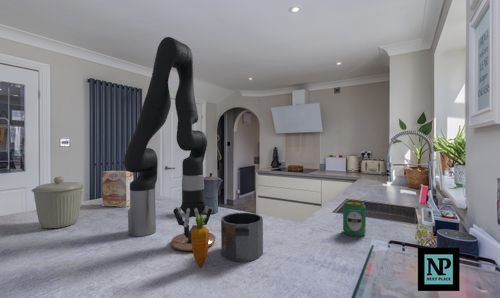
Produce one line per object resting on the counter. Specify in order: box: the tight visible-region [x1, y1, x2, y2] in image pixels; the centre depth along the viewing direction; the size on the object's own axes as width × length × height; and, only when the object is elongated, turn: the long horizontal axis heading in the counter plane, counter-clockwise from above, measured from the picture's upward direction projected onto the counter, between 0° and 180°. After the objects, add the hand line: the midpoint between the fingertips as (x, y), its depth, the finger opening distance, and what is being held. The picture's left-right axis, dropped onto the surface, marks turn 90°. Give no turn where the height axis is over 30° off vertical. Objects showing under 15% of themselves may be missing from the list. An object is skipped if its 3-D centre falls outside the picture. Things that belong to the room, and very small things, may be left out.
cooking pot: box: [220, 212, 264, 263], centre depth 81 cm, size 13×17×11 cm
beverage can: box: [342, 199, 367, 238], centre depth 98 cm, size 8×8×12 cm
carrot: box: [191, 215, 210, 268], centre depth 72 cm, size 5×5×15 cm
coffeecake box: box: [101, 170, 134, 208], centre depth 144 cm, size 15×7×20 cm, turn 81°
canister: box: [31, 176, 85, 230], centre depth 110 cm, size 18×18×21 cm
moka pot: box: [201, 172, 224, 215], centre depth 129 cm, size 10×15×20 cm, turn 78°
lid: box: [170, 224, 216, 252], centre depth 89 cm, size 15×15×5 cm
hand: (193, 236), depth 89 cm, fingers open, 3 cm apart
